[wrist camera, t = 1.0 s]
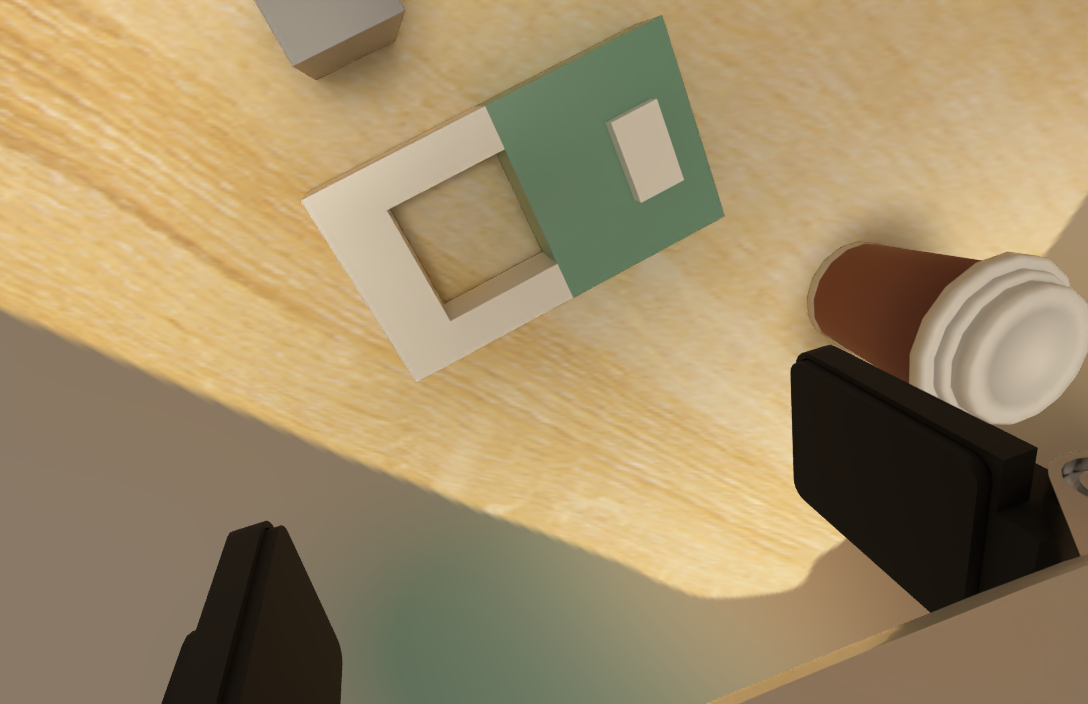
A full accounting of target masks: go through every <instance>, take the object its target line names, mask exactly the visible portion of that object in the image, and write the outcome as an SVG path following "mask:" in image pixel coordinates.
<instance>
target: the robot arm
mask: <svg viewBox="0 0 1088 704" xmlns="http://www.w3.org/2000/svg"><path fill="white" fill-rule="evenodd" d="M791 406H792V439H793V471H794V484H795V487H796V489H797V491H798V493H799V495H800V496H801V497H802V499H803V500H804V501H806V502H807V503H808V504H809V505H810V506H811V507H812V508H813V509H815V510H816V511H817V512H818V513H819V514H820V515H821V516H822V517H824V518H825V519H826V520H827V521H828V522H829V523H830V524H831V525H833V526H834V527H835V528H836V529H837V530H838V531H839V532H840V533H842V534H843V535H844V536H845V537H846V538H847V539H848V540H849V541H850V542H852V543H853V544H854V545H855V546H856V547H857V548H858V549H859V550H861V551H862V552H863V553H864V554H865V555H866V556H867V557H868V558H870V559H871V560H872V561H873V562H874V563H875V564H876V565H878V566H879V567H880V568H881V569H882V570H883V571H884V572H885V573H887V574H888V575H889V576H890V577H891V578H892V579H893V580H894V581H896V582H897V583H898V584H899V585H900V586H901V587H902V588H903V589H904V590H906V591H907V592H908V593H909V594H910V595H911V596H913V598H915V599H916V600H917V601H918V602H919V603H920V604H921V605H923V606H924V607H925V608H926V609H927V610H928V611H929V612H930V613H929V614H927V615H924V616H922V617H919V618H917V619H914V620H912V621H909V622H907V623H904V624H902V625H899V626H897V627H894V628H892V629H889V630H887V631H884V632H882V633H879V634H877V635H874V636H872V637H869V638H867V639H864V640H862V641H859V642H857V643H854V644H852V645H849V646H847V647H844V648H842V649H839V650H837V651H834V652H832V653H829V654H827V655H824V656H822V657H820V658H817V659H815V660H812V661H809V662H807V663H805V664H802V665H800V666H797V667H795V668H792V669H790V670H787V671H785V672H782V673H780V674H777V675H775V676H773V677H770V678H768V679H765V680H763V681H760V682H758V683H755V684H753V685H750V686H748V687H746V688H743V689H741V690H738V691H736V692H733V693H731V694H728V695H726V696H723V697H721V698H719V699H716V700H714V701H711V702H709V703H706V704H1088V451H1078V452H1072V453H1067V454H1063V455H1061V456H1059V457H1057V458H1055V459H1053V460H1052V462H1051V463H1050V464H1049V466H1048V469H1046V468H1044V467H1042V466H1040V465H1038V464H1036V463H1035V462H1036V456H1037V449H1038V448H1037V447H1035V446H1033V445H1031V444H1029V443H1027V442H1025V441H1023V440H1021V439H1019V438H1017V437H1015V436H1013V435H1011V434H1009V433H1007V432H1005V431H1003V430H1001V429H999V428H997V427H995V426H993V425H991V424H989V423H987V422H985V421H983V420H981V419H979V418H977V417H975V416H973V415H971V414H969V413H967V412H965V411H963V410H961V409H959V408H957V407H955V406H953V405H951V404H949V403H947V402H945V401H943V400H941V399H939V398H937V397H935V396H933V395H931V394H929V393H927V392H925V391H923V390H921V389H919V388H917V387H915V386H913V385H911V384H909V383H907V382H905V381H903V380H901V379H899V378H897V377H895V376H893V375H891V374H889V373H887V372H885V371H883V370H881V369H879V368H877V367H875V366H873V365H871V364H869V363H867V362H865V361H863V360H861V359H859V358H857V357H855V356H853V355H851V354H849V353H847V352H845V351H843V350H841V349H839V348H837V347H835V346H832V345H827V346H823V347H820V348H817V349H814V350H811V351H807V352H804V353H801V354H800V355H799V356H798V358H797V360H796V363H795V364H793V365H792V367H791ZM341 679H342V653H341V648H340V645H339V642H338V639H337V637H336V635H335V633H334V631H333V628H332V626H331V624H330V622H329V620H328V618H327V615H326V613H325V611H324V609H323V607H322V604H321V603H320V600H319V598H318V596H317V594H316V592H315V589H314V587H313V585H312V583H311V581H310V579H309V576H308V574H307V572H306V570H305V568H304V566H303V564H302V561H301V559H300V557H299V555H298V553H297V550H296V548H295V546H294V544H293V542H292V540H291V538H290V536H289V533H288V531H287V529H286V528H285V527H284V526H282V525H281V526H278V527H273V525H272V524H271V523H270V522H269V521H264V522H261V523H257V524H254V525H251V526H248V527H245V528H241V529H239V530H236V531H232V532H230V533H229V535H228V537H227V540H226V543H225V546H224V549H223V551H222V554H221V557H220V560H219V563H218V566H217V569H216V572H215V575H214V578H213V582H212V584H211V587H210V590H209V593H208V596H207V599H206V602H205V605H204V608H203V611H202V614H201V617H200V620H199V623H198V625H197V628H196V630H195V631H192V632H191V633H190V634H189V635H188V636H187V637H186V639H185V641H184V643H183V645H182V647H181V650H180V653H179V656H178V659H177V661H176V664H175V667H174V670H173V673H172V676H171V678H170V681H169V684H168V687H167V690H166V692H165V695H164V698H163V701H162V704H340V700H341V681H342V680H341Z"/></svg>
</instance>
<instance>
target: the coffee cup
mask: <svg viewBox="0 0 1088 704" xmlns="http://www.w3.org/2000/svg"><path fill="white" fill-rule="evenodd" d="M807 305H808V316H809V318H810V320H811V322H812V324H813V325H814V327H815V329H816V330H818V331H819V332H821V333H822V334H824V335H825V336H827V337H829V338H831V339H833V340H835V341H836V342H838V343H839V344H841V345H843V346H844V347H846V348H847V349H849V350H851V351H852V352H854V353H855V354H857V355H858V356H860V357H862V358H863V359H865V360H866V361H868V362H870V363H871V364H873V365H874V366H876V367H877V368H879V369H881V370H883V371H885V372H887V373H889V374H891V375H893V376H895V377H897V378H899V379H901V380H903V381H905V382H907V383H909V384H911V385H913V386H915V387H917V388H919V389H921V390H923V391H925V392H927V393H929V394H931V395H933V396H935V397H937V398H939V399H941V400H943V401H945V402H947V403H949V404H951V405H953V406H955V407H957V408H959V409H961V410H963V411H965V412H967V413H969V414H971V415H973V416H975V417H977V418H979V419H981V420H983V421H985V422H987V423H989V424H1014V423H1017V422H1019V421H1022V420H1024V419H1027V418H1029V417H1032V416H1034V415H1037V414H1038V413H1039V412H1041V411H1042V410H1043V409H1045V408H1046V407H1047V406H1049V405H1050V404H1051V403H1053V402H1054V401H1055V400H1056V399H1057V398H1059V397H1060V395H1061V394H1062V393H1063V392H1064V390H1065V389H1066V388H1067V387H1068V386H1069V384H1070V383H1071V382H1072V380H1073V379H1074V378H1075V377H1076V375H1077V374H1078V372H1079V369H1080V367H1081V365H1082V363H1083V361H1084V359H1085V356H1086V354H1087V352H1088V306H1087V302H1086V300H1085V299H1084V298H1083V297H1081V296H1080V295H1079V294H1078V293H1077V292H1076V291H1075V290H1073V288H1071V286H1070V282H1069V278H1068V276H1067V275H1066V274H1064V273H1063V272H1062V271H1061V270H1060V269H1059V268H1058V267H1057V266H1056V265H1055V264H1053V262H1051V261H1050V260H1049V259H1048V258H1045V257H1040V256H1036V255H1028V254H1021V253H1013V252H1005V253H1003V254H1000V255H997V256H994V257H991V258H988V259H985V260H975V259H968V258H962V257H955V256H949V255H942V254H935V253H929V252H922V251H915V250H909V249H902V248H895V247H889V246H882V245H878V244H874V243H866V242H855V243H852V244H849V245H846V246H843V247H840V248H839V249H838V250H837V251H835V252H834V253H833V254H832V255H830V256H829V257H828V258H827V259H825V260H824V262H823V263H822V265H821V266H820V268H819V269H818V271H817V272H816V274H815V275H814V277H813V279H812V282H811V285H810V289H809V292H808V296H807Z"/></svg>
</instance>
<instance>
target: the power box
mask: <svg viewBox="0 0 1088 704" xmlns="http://www.w3.org/2000/svg"><path fill="white" fill-rule="evenodd" d="M495 154H497V156H498V158H499V160H500V162H501V164H502V166H503V169H504V171H505V173H506V175H507V177H508V179H509V181H510V184H511V186H512V188H513V190H514V192H515V194H516V196H517V198H518V201H519V203H520V205H521V207H522V209H523V211H524V213H525V216H526V218H527V220H528V222H529V224H530V226H531V228H532V231H533V233H534V235H535V237H536V239H537V241H538V243H539V246H540V248H541V250H542V252H541V253H539V254H537V255H535V256H533V257H531V258H529V259H527V260H525V261H524V262H522V263H520V264H518V265H516V266H514V267H512V268H510V269H509V270H507V271H505V272H503V273H501V274H499V275H497V276H495V277H494V278H492V279H490V280H488V281H486V282H484V283H482V284H480V285H479V286H477V287H475V288H473V289H471V290H469V291H467V292H465V293H464V294H462V295H460V296H458V297H456V298H454V299H452V300H450V301H449V302H447V303H445V304H444V303H443V302H442V300H441V298H440V296H439V295H438V293H437V291H436V289H435V288H434V286H433V284H432V282H431V281H430V279H429V277H428V275H427V274H426V272H425V270H424V268H423V267H422V265H421V263H420V261H419V260H418V258H417V256H416V254H415V253H414V251H413V249H412V247H411V246H410V244H409V242H408V240H407V239H406V237H405V235H404V233H403V232H402V230H401V228H400V226H399V225H398V223H397V221H396V219H395V218H394V216H393V214H392V212H391V211H390V209H391V208H393V207H394V206H396V205H398V204H400V203H402V202H404V201H406V200H408V199H410V198H412V197H414V196H416V195H418V194H419V193H421V192H423V191H425V190H427V189H429V188H431V187H433V186H435V185H437V184H439V183H441V182H443V181H445V180H446V179H448V178H450V177H452V176H454V175H456V174H458V173H460V172H462V171H464V170H466V169H468V168H470V167H472V166H473V165H475V164H477V163H479V162H481V161H483V160H485V159H487V158H489V157H491V156H493V155H495ZM301 202H302V204H303V206H304V207H305V209H306V210H307V212H308V213H309V215H310V217H311V218H312V220H313V221H314V223H315V224H316V226H317V228H318V229H319V231H320V232H321V234H322V235H323V237H324V239H325V240H326V242H327V243H328V245H329V246H330V248H331V250H332V251H333V253H334V254H335V256H336V257H337V259H338V261H339V262H340V264H341V265H342V267H343V268H344V270H345V272H346V273H347V275H348V276H349V278H350V279H351V281H352V283H353V284H354V286H355V287H356V289H357V290H358V292H359V294H360V295H361V297H362V298H363V300H364V301H365V303H366V305H367V306H368V308H369V309H370V311H371V312H372V314H373V316H374V317H375V319H376V320H377V322H378V323H379V325H380V327H381V328H382V330H383V331H384V333H385V334H386V336H387V338H388V339H389V341H390V342H391V344H392V345H393V347H394V348H395V350H396V352H397V353H398V355H399V356H400V358H401V359H402V361H403V363H404V364H405V366H406V367H407V369H408V370H409V372H410V374H411V375H412V377H413V378H414V380H415V381H416V383H417V382H419V381H420V380H422V379H424V378H426V377H428V376H430V375H431V374H433V373H435V372H437V371H439V370H441V369H443V368H444V367H446V366H448V365H450V364H452V363H454V362H456V361H457V360H459V359H461V358H463V357H465V356H467V355H468V354H470V353H472V352H474V351H476V350H478V349H480V348H481V347H483V346H485V345H487V344H489V343H491V342H493V341H494V340H496V339H498V338H500V337H502V336H504V335H505V334H507V333H509V332H511V331H513V330H515V329H517V328H518V327H520V326H522V325H524V324H526V323H528V322H530V321H531V320H533V319H535V318H537V317H539V316H541V315H543V314H544V313H546V312H548V311H550V310H552V309H554V308H555V307H557V306H559V305H561V304H563V303H565V302H567V301H568V300H570V299H572V298H574V297H576V296H578V295H580V294H581V293H583V292H585V291H587V290H589V289H591V288H592V287H594V286H596V285H598V284H600V283H602V282H604V281H605V280H607V279H609V278H611V277H613V276H615V275H617V274H618V273H620V272H622V271H624V270H626V269H628V268H629V267H631V266H633V265H635V264H637V263H639V262H641V261H642V260H644V259H646V258H648V257H650V256H652V255H654V254H655V253H657V252H659V251H661V250H663V249H665V248H667V247H668V246H670V245H672V244H674V243H676V242H678V241H679V240H681V239H683V238H685V237H687V236H689V235H691V234H692V233H694V232H696V231H698V230H700V229H702V228H704V227H705V226H707V225H709V224H711V223H713V222H715V221H716V220H718V219H720V218H722V217H724V216H725V215H724V212H723V209H722V206H721V203H720V199H719V196H718V193H717V190H716V187H715V183H714V180H713V177H712V174H711V170H710V167H709V164H708V161H707V158H706V154H705V151H704V148H703V145H702V142H701V138H700V135H699V132H698V129H697V126H696V122H695V119H694V116H693V113H692V109H691V106H690V103H689V100H688V97H687V93H686V90H685V87H684V84H683V81H682V77H681V74H680V71H679V68H678V65H677V61H676V58H675V55H674V52H673V48H672V45H671V42H670V39H669V36H668V32H667V29H666V26H665V23H664V20H663V16H662V15H661V16H658V17H655V18H652V19H649V20H646V21H643V22H640V23H637V24H635V25H633V26H631V27H629V28H627V29H625V30H623V31H621V32H619V33H617V34H615V35H613V36H611V37H610V38H608V39H606V40H604V41H602V42H600V43H598V44H596V45H594V46H592V47H590V48H588V49H586V50H584V51H582V52H580V53H578V54H576V55H574V56H572V57H571V58H569V59H567V60H565V61H563V62H561V63H559V64H557V65H555V66H553V67H551V68H549V69H547V70H545V71H543V72H541V73H539V74H537V75H535V76H533V77H532V78H530V79H528V80H526V81H524V82H522V83H520V84H518V85H516V86H514V87H512V88H510V89H508V90H506V91H504V92H502V93H500V94H498V95H496V96H494V97H492V98H491V99H489V100H487V101H485V102H483V103H481V104H479V105H477V106H475V107H473V108H471V109H469V110H467V111H465V112H463V113H461V114H459V115H457V116H455V117H453V118H452V119H450V120H448V121H446V122H444V123H442V124H440V125H438V126H436V127H434V128H432V129H430V130H428V131H426V132H424V133H422V134H420V135H418V136H416V137H414V138H412V139H411V140H409V141H407V142H405V143H403V144H401V145H399V146H397V147H395V148H393V149H391V150H389V151H387V152H385V153H383V154H381V155H379V156H377V157H375V158H373V159H372V160H370V161H368V162H366V163H364V164H362V165H360V166H358V167H356V168H354V169H352V170H350V171H348V172H346V173H344V174H342V175H340V176H338V177H336V178H334V179H332V180H331V181H329V182H327V183H325V184H323V185H321V186H319V187H317V188H315V189H313V190H311V191H309V192H307V193H306V194H305V196H304V197H303V198H302V199H301Z"/></svg>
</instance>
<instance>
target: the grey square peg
mask: <svg viewBox="0 0 1088 704" xmlns="http://www.w3.org/2000/svg"><path fill="white" fill-rule="evenodd" d="M254 1H255V3H256V4H257V6H258V8H259V9H260V11H261V13H262V15H263V16H264V18H265V20H266V21H267V23H268V25H269V27H270V28H271V30H272V32H273V33H274V35H275V37H276V39H277V40H278V42H279V44H280V45H281V47H282V49H283V51H284V52H285V54H286V56H287V58H288V59H289V61H290V63H291V64H292V66H293V67H295V68H296V69H298V70H300V71H301V72H303V73H305V74H306V75H308V76H310V77H312V78H313V79H315V80H317V79H319V78H321V77H323V76H325V75H327V74H329V73H331V72H333V71H335V70H337V69H339V68H341V67H343V66H345V65H347V64H349V63H351V62H353V61H355V60H357V59H359V58H361V57H363V56H365V55H367V54H369V53H371V52H373V51H375V50H377V49H379V48H381V47H383V46H385V45H387V44H389V43H391V42H393V41H395V40H396V37H397V33H398V30H399V27H400V24H401V21H402V18H403V15H404V12H405V9H404V7H403V5H402V3H401V1H400V0H254Z"/></svg>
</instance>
